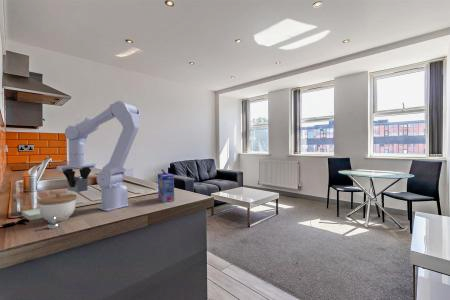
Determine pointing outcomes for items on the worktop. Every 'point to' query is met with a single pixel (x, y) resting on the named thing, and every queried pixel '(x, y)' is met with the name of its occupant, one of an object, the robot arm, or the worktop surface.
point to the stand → (32, 214)
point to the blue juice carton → (165, 186)
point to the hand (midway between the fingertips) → (77, 186)
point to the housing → (78, 185)
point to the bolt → (53, 223)
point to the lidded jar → (57, 206)
